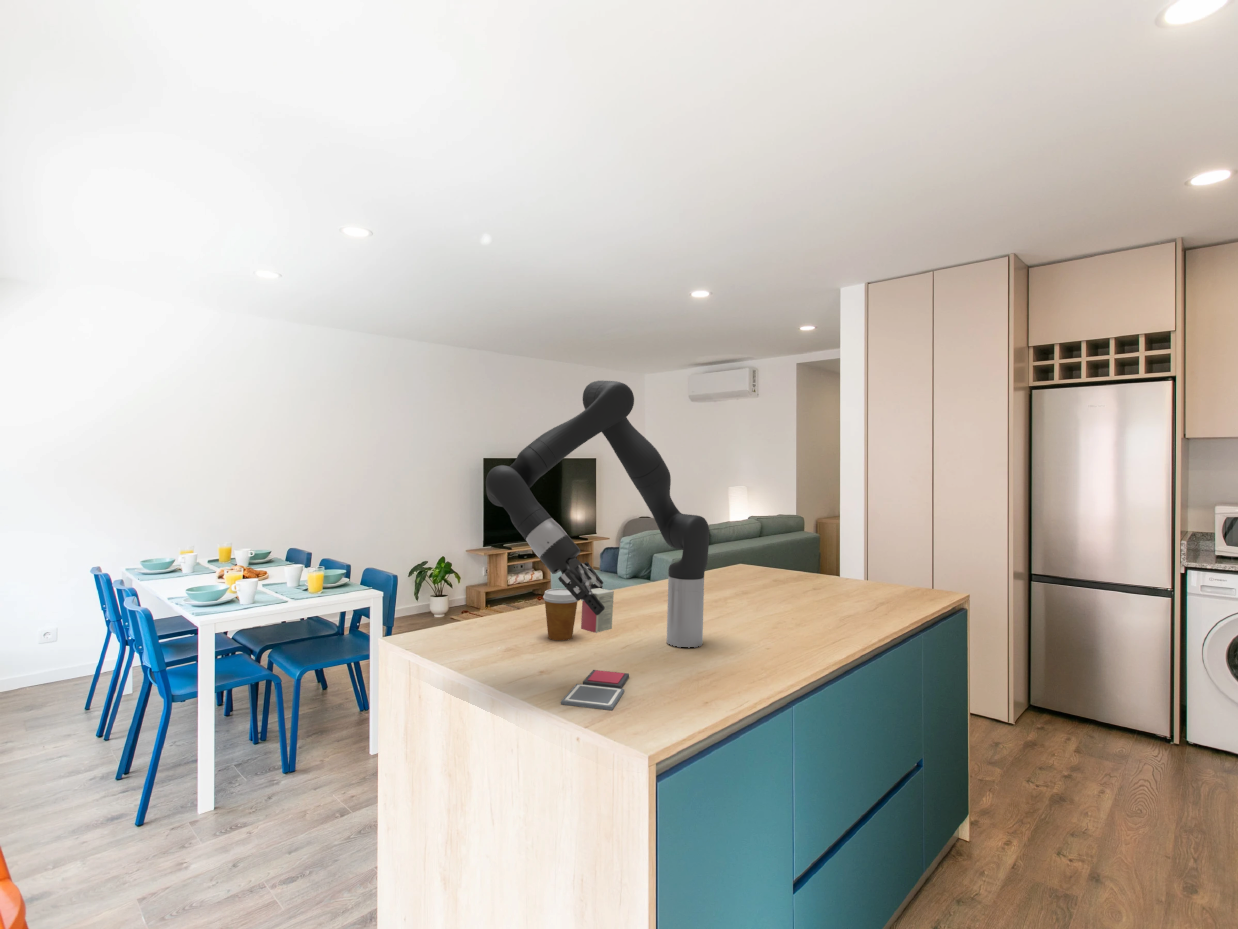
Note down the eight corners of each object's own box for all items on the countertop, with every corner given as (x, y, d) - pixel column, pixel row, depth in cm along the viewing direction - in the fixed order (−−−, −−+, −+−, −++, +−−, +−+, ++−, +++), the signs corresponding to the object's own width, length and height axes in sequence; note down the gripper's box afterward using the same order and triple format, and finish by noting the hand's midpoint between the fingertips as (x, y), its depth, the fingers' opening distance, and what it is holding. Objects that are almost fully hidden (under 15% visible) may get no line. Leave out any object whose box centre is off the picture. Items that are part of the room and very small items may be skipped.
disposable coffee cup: (581, 633, 171) (582, 589, 171) (575, 643, 162) (576, 596, 162) (546, 631, 172) (547, 587, 172) (538, 641, 163) (539, 594, 163)
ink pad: (593, 673, 139) (593, 668, 139) (629, 677, 137) (629, 672, 137) (582, 685, 131) (582, 680, 131) (620, 689, 129) (620, 684, 129)
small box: (596, 625, 132) (598, 587, 132) (612, 629, 129) (614, 590, 129) (579, 629, 128) (581, 590, 128) (595, 633, 125) (597, 593, 125)
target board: (576, 686, 131) (576, 683, 131) (624, 692, 128) (624, 688, 128) (560, 704, 121) (561, 700, 121) (612, 710, 119) (612, 706, 119)
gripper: (553, 536, 124) (610, 604, 121) (576, 530, 138) (627, 590, 135) (526, 562, 125) (582, 629, 122) (552, 553, 139) (602, 613, 136)
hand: (605, 608), depth 128 cm, fingers closed on small box, 6 cm apart
